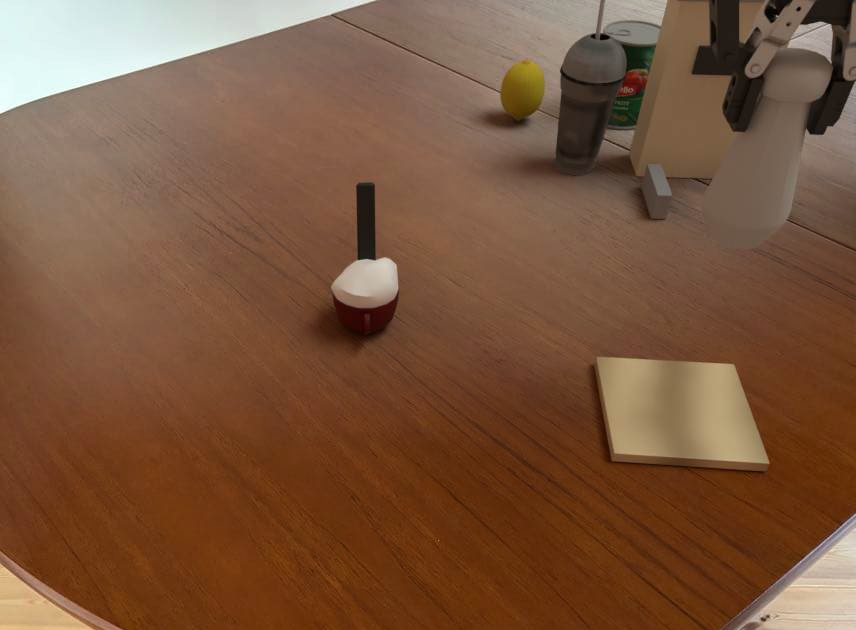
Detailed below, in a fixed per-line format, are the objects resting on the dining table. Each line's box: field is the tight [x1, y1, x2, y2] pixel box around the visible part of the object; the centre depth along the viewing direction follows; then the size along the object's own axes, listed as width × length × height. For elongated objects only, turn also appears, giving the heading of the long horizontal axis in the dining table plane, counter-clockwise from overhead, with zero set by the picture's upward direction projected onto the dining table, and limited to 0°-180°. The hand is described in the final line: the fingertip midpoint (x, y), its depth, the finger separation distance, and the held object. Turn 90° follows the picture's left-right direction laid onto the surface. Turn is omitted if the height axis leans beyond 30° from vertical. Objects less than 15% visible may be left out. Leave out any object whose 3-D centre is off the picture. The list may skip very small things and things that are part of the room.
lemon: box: [499, 58, 546, 121], centre depth 111 cm, size 6×6×8 cm
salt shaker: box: [700, 47, 833, 250], centre depth 58 cm, size 6×6×13 cm
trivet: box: [593, 356, 771, 472], centre depth 73 cm, size 12×12×1 cm
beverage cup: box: [554, 0, 626, 176], centre depth 97 cm, size 7×7×20 cm
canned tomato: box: [602, 19, 661, 131], centre depth 110 cm, size 8×8×11 cm
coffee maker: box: [628, 0, 792, 220], centre depth 92 cm, size 13×15×23 cm
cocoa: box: [330, 181, 400, 335], centre depth 79 cm, size 10×6×12 cm, turn 156°
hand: (774, 127), depth 57 cm, fingers closed on salt shaker, 4 cm apart
